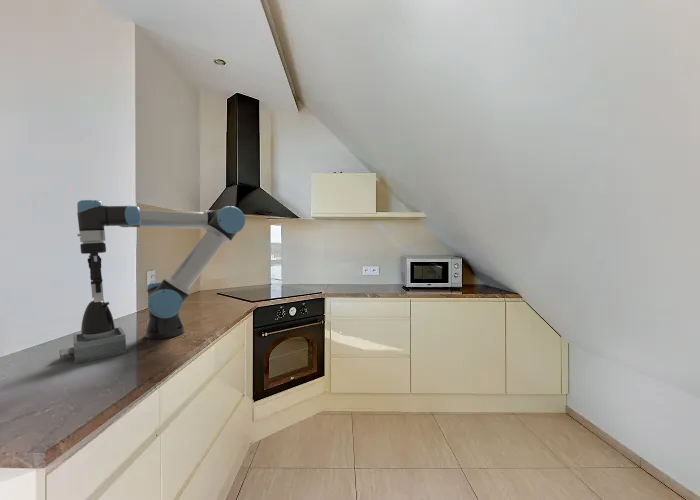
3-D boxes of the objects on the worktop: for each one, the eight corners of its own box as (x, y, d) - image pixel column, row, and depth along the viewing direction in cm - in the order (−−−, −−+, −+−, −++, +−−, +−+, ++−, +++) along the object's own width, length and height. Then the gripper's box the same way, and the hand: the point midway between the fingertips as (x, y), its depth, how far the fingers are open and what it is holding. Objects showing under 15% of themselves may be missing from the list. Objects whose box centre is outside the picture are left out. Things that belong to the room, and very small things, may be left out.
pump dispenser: (98, 344, 123) (95, 302, 122) (74, 343, 125) (71, 302, 124) (122, 336, 133) (120, 297, 132) (100, 335, 135) (97, 297, 134)
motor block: (121, 344, 140) (120, 327, 139) (126, 353, 128) (125, 334, 128) (60, 355, 128) (59, 337, 127) (59, 366, 116) (58, 346, 116)
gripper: (79, 243, 135) (83, 296, 136) (81, 242, 115) (86, 305, 116) (102, 242, 139) (107, 294, 141) (108, 241, 120) (113, 302, 121)
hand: (97, 299), depth 128 cm, fingers open, 13 cm apart
